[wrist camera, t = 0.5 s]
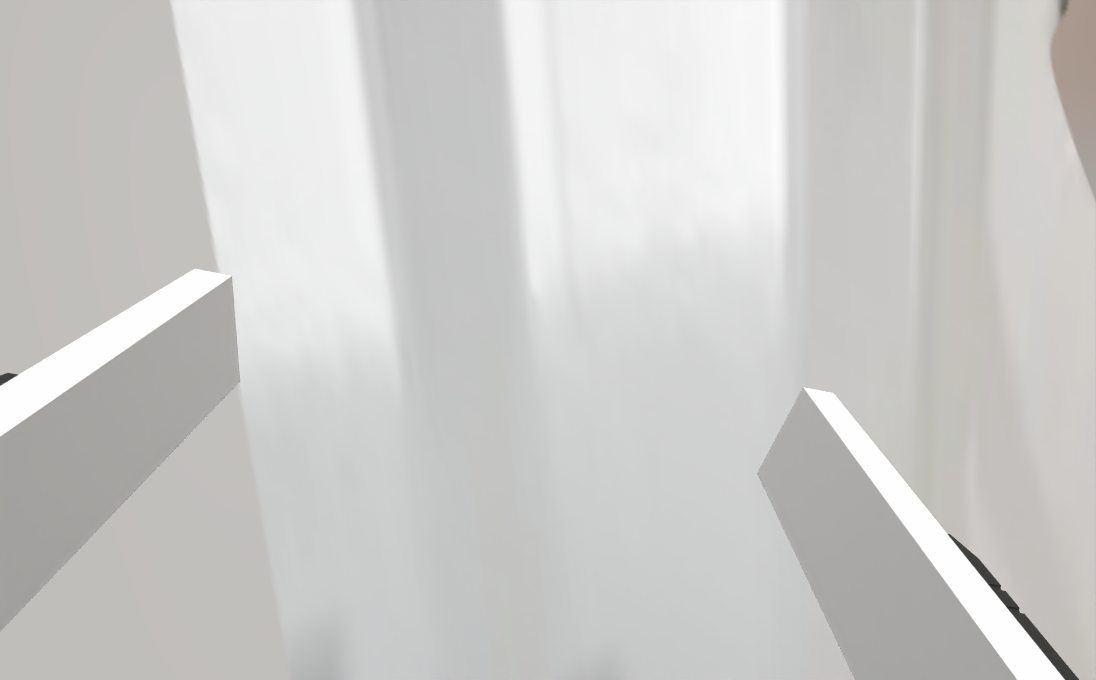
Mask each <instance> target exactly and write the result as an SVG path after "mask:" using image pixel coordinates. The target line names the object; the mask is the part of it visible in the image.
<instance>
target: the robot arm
mask: <svg viewBox="0 0 1096 680" xmlns="http://www.w3.org/2000/svg"><path fill="white" fill-rule="evenodd" d="M239 382H240V374H239V361H238V348H237V336H236V323H235V311H234V298H233V286H232V276H229V275H224V274H219V273H213V272H208V271H203V270H198V269H194V270H192V271H190V272H189V273H187V274H185V275H184V276H182V277H180V278H179V279H177V280H175V281H174V282H172V283H170V284H169V285H167V286H165V287H164V288H162V289H161V290H159V291H157V292H155V293H154V294H152V295H151V296H149V297H147V298H145V299H144V300H142V301H141V302H139V303H137V304H136V305H134V306H132V307H131V308H129V309H128V310H126V311H124V312H122V313H121V314H119V315H117V316H116V317H114V318H112V319H111V320H109V321H108V322H106V323H104V324H102V325H101V326H99V327H98V328H96V329H94V330H92V331H91V332H89V333H88V334H86V335H84V336H82V337H81V338H79V339H78V340H76V341H74V342H72V343H71V344H69V345H67V346H66V347H64V348H63V349H61V350H59V351H58V352H56V353H54V354H53V355H51V356H49V357H48V358H46V359H44V360H43V361H41V362H40V363H38V364H36V365H34V366H33V367H31V368H29V369H28V370H26V371H24V372H23V373H21V374H19V375H17V374H11V373H7V374H4V375H1V376H0V631H1V630H2V629H3V628H4V627H5V626H6V625H7V624H8V623H9V622H10V621H11V620H12V619H13V618H14V617H15V616H16V615H17V614H18V612H19V611H20V610H21V609H22V608H23V607H24V606H25V605H26V604H27V603H28V602H29V601H30V600H31V599H32V598H33V597H34V596H35V595H36V594H37V593H38V592H39V591H40V590H41V588H42V587H43V586H44V585H45V584H46V583H47V582H48V581H49V580H50V579H51V578H52V577H53V576H54V575H55V574H56V573H57V572H58V570H60V569H61V568H62V566H64V565H65V563H66V562H67V561H68V560H69V559H70V558H71V557H72V556H73V555H74V554H75V553H76V552H77V551H78V550H79V549H80V548H81V547H82V546H83V545H84V544H85V542H87V541H88V539H89V538H90V537H91V536H92V535H93V534H94V533H95V532H96V531H97V530H98V529H99V528H100V527H101V526H102V525H103V524H104V523H105V521H107V520H108V519H109V518H110V516H111V515H112V514H113V513H114V512H115V511H116V510H117V509H118V508H119V507H120V506H121V505H122V504H123V503H124V502H125V501H126V500H127V499H128V498H129V497H130V496H131V494H132V493H133V492H134V491H135V490H136V489H137V488H138V487H139V486H140V485H141V484H142V483H143V482H144V481H145V480H146V479H147V478H148V477H149V476H150V475H151V474H152V472H154V471H155V469H156V468H157V467H158V466H159V465H160V464H161V463H162V462H163V461H164V460H165V459H166V458H167V457H168V456H169V455H170V454H171V453H172V452H173V450H175V449H176V447H178V446H179V444H180V443H181V442H182V441H183V440H184V439H185V438H186V437H187V436H188V435H189V434H190V433H191V432H192V431H193V430H194V429H195V428H196V427H197V426H198V425H199V424H200V422H202V420H203V419H204V418H205V417H206V416H207V415H208V414H209V413H210V412H211V411H212V410H213V409H214V408H215V407H216V406H217V405H218V404H219V403H220V401H222V400H223V399H224V398H225V396H226V395H227V394H228V393H229V392H230V391H231V390H232V389H233V388H234V387H235V386H236V385H237V384H238V383H239ZM757 474H758V476H759V478H760V480H761V482H762V484H763V487H764V489H765V491H766V493H767V495H768V497H769V499H770V501H771V503H772V505H773V508H774V510H775V512H776V514H777V516H778V518H779V520H780V522H781V524H782V527H783V529H784V531H785V533H786V535H787V537H788V539H789V541H790V543H791V546H792V548H793V550H794V552H795V554H796V556H797V558H798V560H799V562H800V565H801V567H802V569H803V571H804V573H805V575H806V577H807V579H808V581H809V584H810V586H811V588H812V590H813V592H814V594H815V596H816V598H817V600H818V603H819V605H820V607H821V609H822V611H823V613H824V615H825V617H826V619H827V621H828V624H829V626H830V628H831V630H832V632H833V634H834V636H835V638H836V640H837V643H838V645H839V647H840V649H841V651H842V653H843V655H844V657H845V659H846V662H847V664H848V666H849V668H850V670H851V672H852V674H853V676H854V678H855V680H1079V679H1078V678H1077V677H1076V675H1075V674H1074V673H1073V672H1072V671H1071V669H1070V668H1069V667H1068V666H1067V665H1066V663H1065V662H1064V661H1063V660H1062V659H1061V657H1060V656H1059V655H1058V654H1057V652H1056V651H1055V650H1054V649H1053V648H1052V646H1051V645H1050V644H1049V643H1048V642H1047V640H1046V639H1045V638H1044V637H1043V636H1042V634H1041V633H1040V632H1039V631H1038V630H1037V628H1036V627H1035V626H1034V625H1033V624H1032V622H1031V621H1030V620H1029V619H1028V618H1027V616H1026V615H1025V614H1022V613H1020V612H1019V607H1018V606H1017V604H1016V603H1015V602H1014V601H1013V599H1012V598H1011V597H1010V596H1009V595H1008V593H1007V592H1006V591H1002V590H1001V588H1000V587H1001V585H1000V584H999V583H998V581H997V580H996V579H995V578H994V577H993V575H992V574H991V573H990V572H989V571H988V569H987V568H986V567H985V566H984V565H983V563H982V562H981V561H980V560H979V559H978V558H977V557H976V556H975V555H974V554H972V553H971V552H970V551H969V550H968V549H967V548H965V547H964V546H963V545H962V544H961V543H960V542H958V541H957V540H956V539H955V538H954V537H952V536H951V535H950V534H947V533H946V532H945V531H944V530H943V528H942V527H941V526H940V525H939V523H938V522H937V521H936V520H935V518H934V517H933V516H932V515H931V513H930V512H929V511H928V510H927V508H926V507H925V506H924V505H923V504H922V502H921V501H920V500H919V499H918V497H917V496H916V495H915V494H914V492H913V491H912V490H911V489H910V487H909V486H908V485H907V484H906V482H905V481H904V480H903V479H902V477H901V476H900V475H899V474H898V473H897V471H896V470H895V469H894V468H893V466H892V465H891V464H890V463H889V461H888V460H887V459H886V458H885V456H884V455H883V454H882V453H881V451H880V450H879V449H878V448H877V447H876V445H875V444H874V443H873V442H872V440H871V439H870V438H869V437H868V435H867V434H866V433H865V432H864V430H863V429H862V428H861V427H860V425H859V424H858V423H857V422H856V421H855V419H854V418H853V417H852V416H851V414H850V413H849V412H848V411H847V409H846V408H845V407H844V406H843V404H842V403H841V402H840V401H839V399H838V398H837V397H836V396H835V395H834V393H830V392H824V391H819V390H814V389H809V388H804V387H803V389H802V391H801V393H800V395H799V396H798V398H797V400H796V402H795V404H794V406H793V408H792V410H791V411H790V413H789V415H788V417H787V419H786V421H785V423H784V424H783V426H782V428H781V430H780V432H779V434H778V436H777V438H776V439H775V441H774V443H773V445H772V447H771V449H770V451H769V453H768V454H767V456H766V458H765V460H764V462H763V464H762V466H761V467H760V469H759V471H758V473H757Z"/></svg>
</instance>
